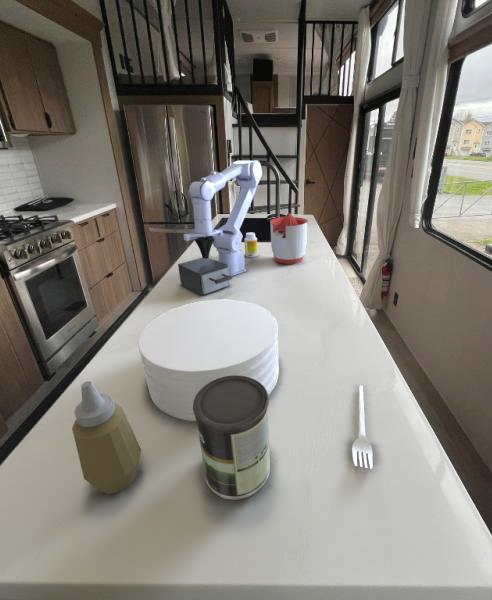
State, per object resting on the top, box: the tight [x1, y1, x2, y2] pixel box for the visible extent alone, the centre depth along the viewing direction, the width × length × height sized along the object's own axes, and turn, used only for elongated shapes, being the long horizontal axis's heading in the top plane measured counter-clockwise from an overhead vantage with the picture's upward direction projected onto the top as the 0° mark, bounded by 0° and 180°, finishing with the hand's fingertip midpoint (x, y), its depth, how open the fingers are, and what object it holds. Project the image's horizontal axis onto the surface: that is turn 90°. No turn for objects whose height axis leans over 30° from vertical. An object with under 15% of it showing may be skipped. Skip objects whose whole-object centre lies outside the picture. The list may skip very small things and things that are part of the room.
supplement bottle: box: [244, 232, 259, 258], centre depth 145 cm, size 6×6×10 cm
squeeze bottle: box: [71, 380, 142, 495], centre depth 46 cm, size 8×8×18 cm
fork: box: [351, 384, 374, 470], centre depth 57 cm, size 3×20×2 cm, turn 167°
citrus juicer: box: [269, 212, 309, 265], centre depth 135 cm, size 16×17×20 cm
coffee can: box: [193, 375, 271, 501], centre depth 47 cm, size 10×10×14 cm
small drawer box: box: [177, 257, 229, 297], centre depth 115 cm, size 14×12×8 cm
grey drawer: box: [201, 268, 233, 295], centre depth 112 cm, size 17×10×6 cm, turn 44°
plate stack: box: [137, 298, 280, 422], centre depth 69 cm, size 28×28×12 cm
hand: (205, 258), depth 115 cm, fingers closed
